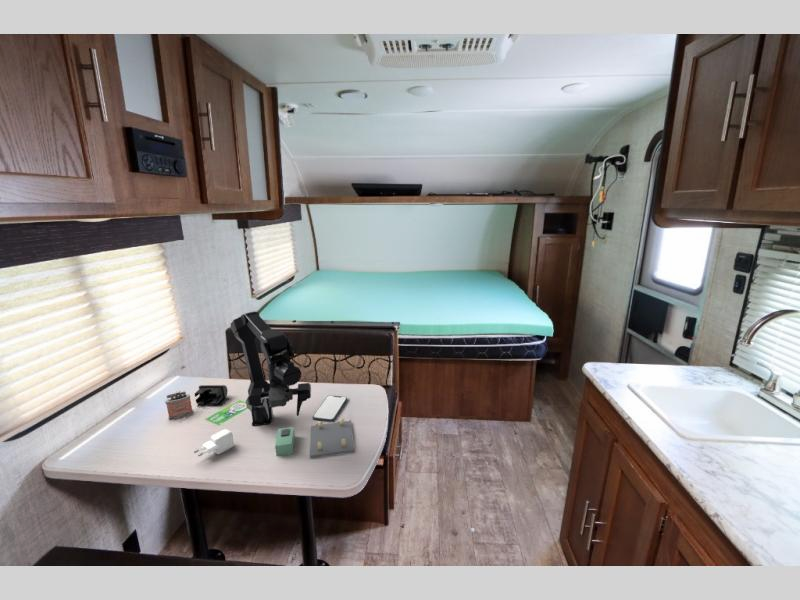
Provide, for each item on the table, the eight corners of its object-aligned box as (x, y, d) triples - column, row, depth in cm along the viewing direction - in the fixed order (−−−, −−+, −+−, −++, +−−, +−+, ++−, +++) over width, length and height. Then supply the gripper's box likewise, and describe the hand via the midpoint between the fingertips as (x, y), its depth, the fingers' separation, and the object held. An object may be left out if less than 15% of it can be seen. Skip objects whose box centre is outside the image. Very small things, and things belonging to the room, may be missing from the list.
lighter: (192, 409, 143) (188, 387, 140) (193, 414, 140) (189, 390, 137) (168, 416, 138) (163, 393, 136) (169, 421, 136) (164, 397, 133)
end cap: (228, 397, 152) (226, 382, 150) (220, 406, 145) (218, 391, 143) (205, 397, 152) (202, 382, 150) (195, 406, 145) (192, 391, 143)
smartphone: (333, 424, 134) (348, 400, 149) (333, 420, 133) (348, 396, 148) (311, 421, 136) (328, 398, 151) (310, 417, 135) (327, 394, 150)
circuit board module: (276, 456, 117) (274, 444, 115) (279, 438, 125) (278, 427, 124) (292, 454, 118) (291, 442, 116) (294, 437, 126) (293, 425, 125)
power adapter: (201, 466, 112) (198, 450, 111) (194, 460, 115) (191, 444, 114) (235, 447, 121) (233, 431, 119) (228, 441, 124) (225, 426, 122)
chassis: (309, 458, 115) (308, 448, 114) (311, 428, 130) (310, 419, 129) (354, 451, 118) (353, 442, 117) (350, 423, 133) (350, 414, 132)
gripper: (241, 389, 105) (248, 436, 109) (308, 382, 108) (312, 427, 113) (248, 372, 115) (254, 415, 120) (309, 366, 119) (312, 408, 123)
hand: (283, 417), depth 119 cm, fingers open, 9 cm apart
